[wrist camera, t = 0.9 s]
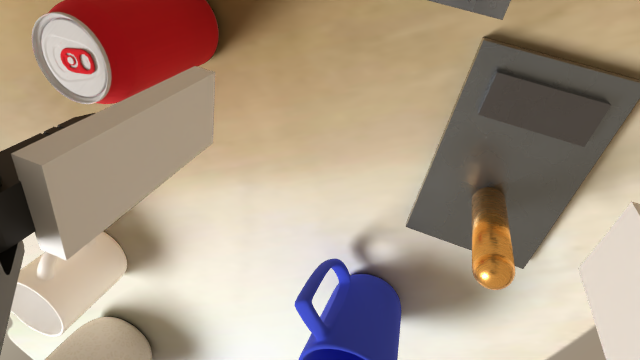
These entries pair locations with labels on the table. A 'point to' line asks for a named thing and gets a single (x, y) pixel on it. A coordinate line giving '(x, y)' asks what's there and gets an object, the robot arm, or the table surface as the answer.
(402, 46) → the table surface
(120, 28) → the beverage can
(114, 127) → the robot arm
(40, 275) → the mug
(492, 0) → the hollow square tube
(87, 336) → the planter
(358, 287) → the mug
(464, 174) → the keeper
